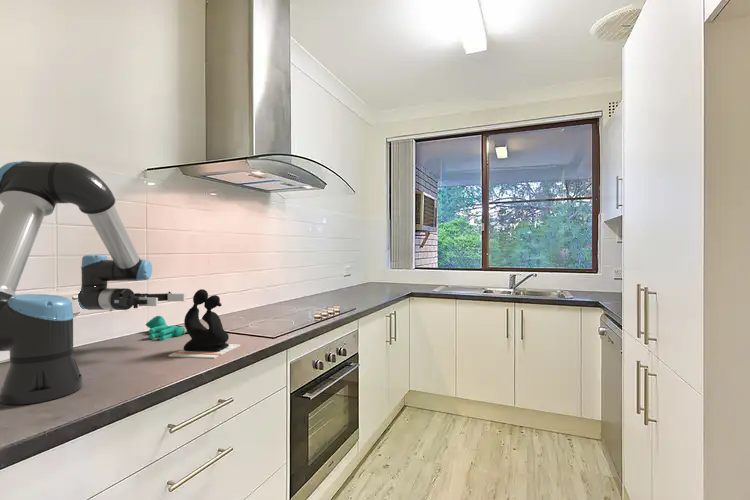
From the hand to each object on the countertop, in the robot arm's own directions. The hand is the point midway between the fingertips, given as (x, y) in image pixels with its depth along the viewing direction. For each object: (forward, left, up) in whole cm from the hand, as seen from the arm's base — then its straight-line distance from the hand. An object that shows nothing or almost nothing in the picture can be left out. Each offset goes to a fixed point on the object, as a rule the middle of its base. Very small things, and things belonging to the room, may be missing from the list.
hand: (171, 299), depth 136 cm
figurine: (0, -13, -17) cm, 21 cm away
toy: (+21, +18, -17) cm, 32 cm away
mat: (-1, -13, -17) cm, 22 cm away
